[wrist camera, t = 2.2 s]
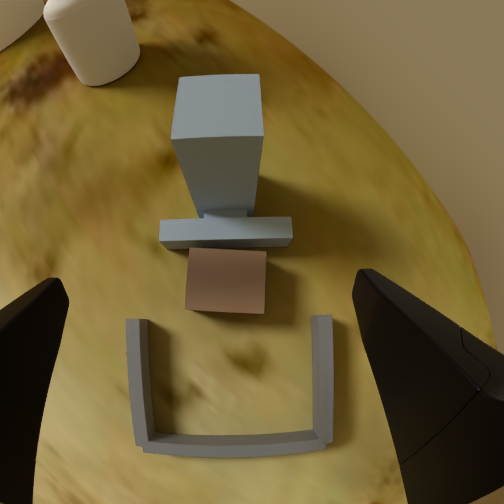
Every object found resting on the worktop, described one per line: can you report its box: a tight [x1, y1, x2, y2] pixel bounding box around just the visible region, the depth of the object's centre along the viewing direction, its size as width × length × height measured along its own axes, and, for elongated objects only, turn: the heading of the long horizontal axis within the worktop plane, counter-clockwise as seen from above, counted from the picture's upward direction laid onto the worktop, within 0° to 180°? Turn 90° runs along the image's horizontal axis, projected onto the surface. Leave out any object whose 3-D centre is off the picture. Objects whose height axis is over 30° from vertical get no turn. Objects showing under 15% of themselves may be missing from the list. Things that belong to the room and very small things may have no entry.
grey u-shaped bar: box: [126, 315, 334, 457], centre depth 19 cm, size 10×14×2 cm
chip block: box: [185, 248, 266, 314], centre depth 20 cm, size 4×5×3 cm
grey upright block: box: [159, 74, 293, 250], centre depth 18 cm, size 6×9×11 cm
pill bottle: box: [43, 0, 140, 86], centre depth 19 cm, size 8×8×15 cm
